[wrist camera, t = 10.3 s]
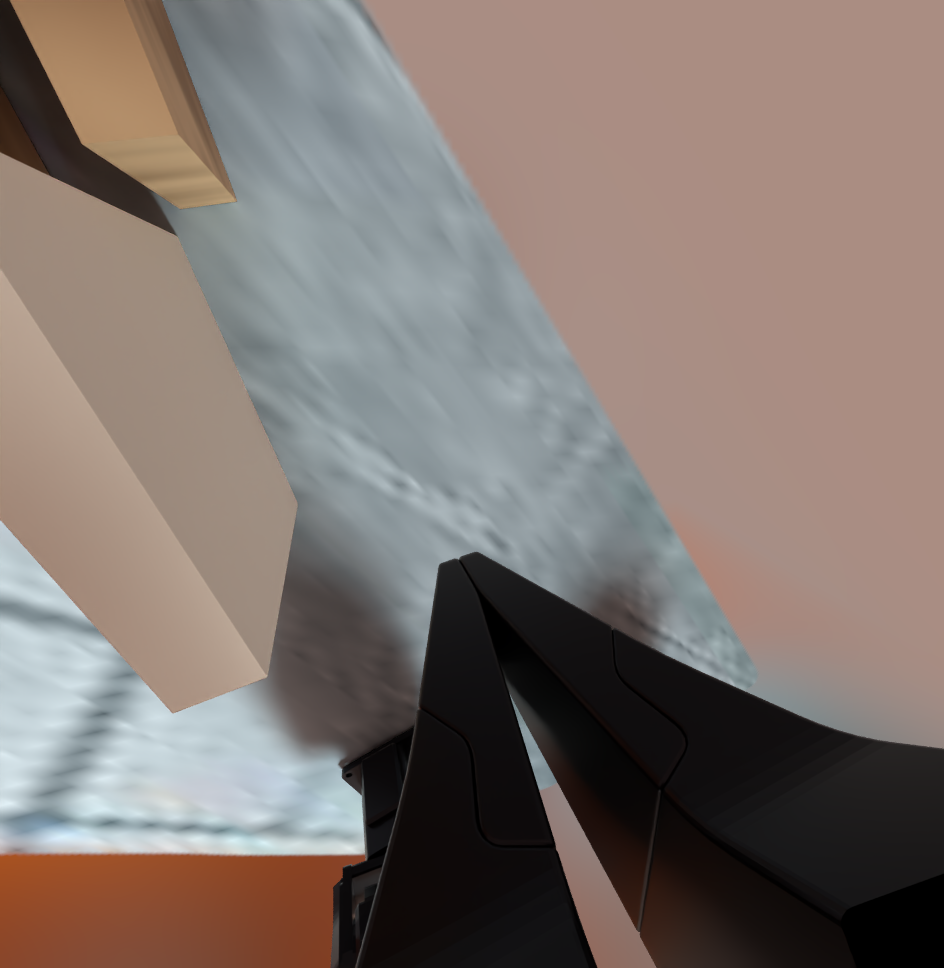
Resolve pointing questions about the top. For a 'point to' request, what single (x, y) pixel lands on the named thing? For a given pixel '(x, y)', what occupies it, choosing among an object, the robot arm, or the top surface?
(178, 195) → the oak box
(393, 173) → the top surface
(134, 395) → the cover plate
